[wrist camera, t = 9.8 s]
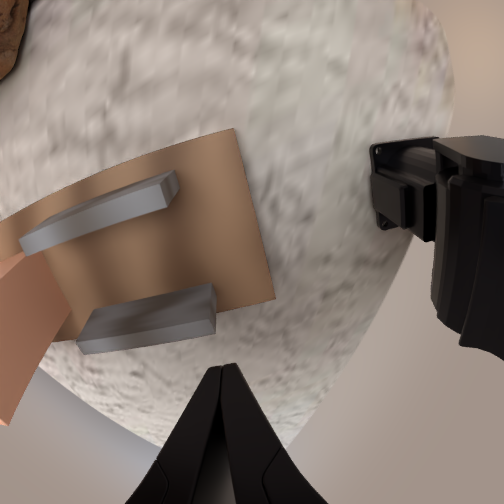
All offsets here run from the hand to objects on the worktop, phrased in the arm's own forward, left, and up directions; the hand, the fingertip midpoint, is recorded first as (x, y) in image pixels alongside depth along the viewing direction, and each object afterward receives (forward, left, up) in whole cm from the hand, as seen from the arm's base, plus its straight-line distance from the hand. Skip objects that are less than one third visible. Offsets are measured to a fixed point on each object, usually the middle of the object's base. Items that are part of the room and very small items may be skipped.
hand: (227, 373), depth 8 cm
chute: (+9, 0, -13) cm, 16 cm away
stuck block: (+17, 0, -12) cm, 21 cm away
